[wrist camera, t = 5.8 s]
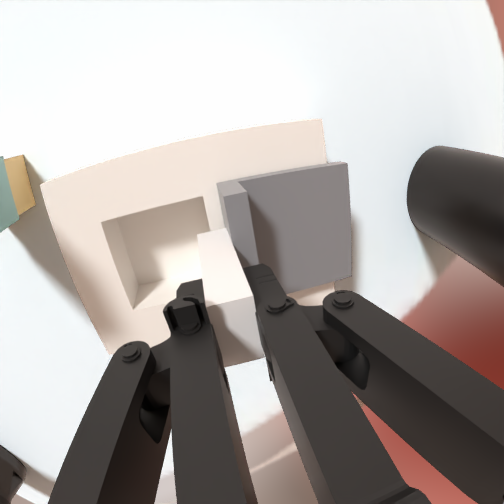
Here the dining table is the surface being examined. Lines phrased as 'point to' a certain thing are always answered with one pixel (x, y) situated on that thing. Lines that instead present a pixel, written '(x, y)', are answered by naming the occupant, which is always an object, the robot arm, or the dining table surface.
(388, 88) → the dining table surface
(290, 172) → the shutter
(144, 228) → the socket block
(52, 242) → the dining table surface
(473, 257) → the water bottle
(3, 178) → the teal block
